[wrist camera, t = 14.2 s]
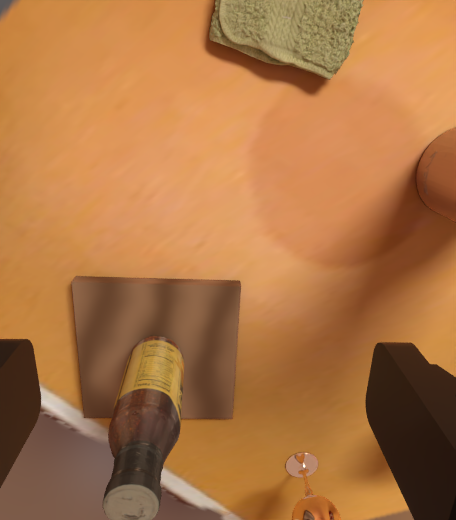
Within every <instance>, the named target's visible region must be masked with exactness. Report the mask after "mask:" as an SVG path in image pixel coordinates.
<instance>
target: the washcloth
mask: <svg viewBox="0 0 456 520" xmlns="http://www.w3.org/2000/svg"><path fill="white" fill-rule="evenodd" d="M362 2H363V0H216V1H215V12H214V13H213V16H212V21H211V27H210V31H209V32H210V33H209V38H210V41H214V42H217V43H220V44H223V45H225V46H228V47H231V48H234V49H236V50H238V51H240V52H243V53H244V54H247V55H249V56H251V57H254V58H256V59H258V60H261V61H264V62H266V63H271V64H275V65H291V66H294V67H297V68H300V69H303V70H306V71H308V72H312V73H314V74H317V75H319V76H322V77H324V78H326V79H329V80H330V79H331V78H332V76H333V74H336V73H337V71H338V69H339V68H340V66H341V65H342V64H343V62H344V60H345V59H346V58H347V57H348V56H349V50H350V48H351V45H352V43H353V42H354V41H353V34H354V31H355V28H356V26H357V24H358V17H359V14H360V11H361V8H362V6H363V4H362Z"/></svg>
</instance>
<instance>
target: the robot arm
mask: <svg viewBox="0 0 456 520" xmlns="http://www.w3.org/2000/svg"><path fill="white" fill-rule="evenodd" d="M416 183H417V190H418V192H419V195H420V197H421V199H422V200H423V202H424V203H425V204H426V205H427V206H428V207H429V208H430V209H432V210H433V211H435V212H437V213H439V214H441V215H443V216H445V217H447V218H449V219H450V220H452V221H454V222H456V128H453V129H450V130H448V131H446V132H445V133H443V134H442V135H440V136H439V137H437V138H436V139H435V140H434V141H433V142H432V143H431V144H430V145H429V147H428V148H427V149H426V150H425V152H424V154H423V156H422V158H421V160H420V162H419V165H418V169H417V175H416ZM40 407H41V392H40V386H39V380H38V374H37V368H36V362H35V355H34V349H33V346H32V343H31V342H30V340H28V339H0V488H1V486H2V484H3V482H4V480H5V479H6V477H7V475H8V473H9V471H10V469H11V468H12V466H13V464H14V462H15V460H16V458H17V457H18V455H19V453H20V451H21V449H22V448H23V445H24V444H25V442H26V440H27V439H28V437H29V435H30V433H31V431H32V430H33V428H34V426H35V424H36V422H37V419H38V416H39V413H40ZM366 413H367V418H368V421H369V424H370V426H371V429H372V431H373V433H374V435H375V437H376V439H377V441H378V444H379V446H380V448H381V450H382V452H383V454H384V456H385V458H386V461H387V463H388V465H389V467H390V469H391V471H392V473H393V475H394V478H395V480H396V482H397V484H398V486H399V488H400V490H401V493H402V495H403V497H404V499H405V501H406V503H407V505H408V507H409V510H410V512H411V514H412V516H413V518H414V520H456V377H454V376H453V375H451V374H450V373H448V372H447V371H445V370H444V369H442V368H441V367H439V366H438V365H436V364H429V363H428V361H427V360H426V359H425V358H424V356H423V355H422V354H421V353H420V351H419V350H418V349H417V348H416V346H415V345H414V344H412V343H377V345H376V346H375V349H374V352H373V358H372V364H371V370H370V376H369V381H368V387H367V393H366Z"/></svg>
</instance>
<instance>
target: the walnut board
mask: <svg viewBox="0 0 456 520" xmlns="http://www.w3.org/2000/svg"><path fill="white" fill-rule="evenodd" d="M72 292H73V303H74V314H75V324H76V335H77V346H78V357H79V367H80V378H81V389H82V400H83V410H84V418H112V413H113V409H114V406H115V402H116V399H117V396H118V392H119V389H120V385H121V382H122V378H123V375H124V371H125V368H126V365H127V362H128V359H129V356H130V354H131V352H132V350H133V348H134V347H135V345H137V344H138V343H139V342H140V341H142V340H143V339H145V338H147V337H149V336H160V337H165V338H168V339H170V340H172V341H173V342H175V343H176V345H177V346H178V347H179V348H180V350H181V353H182V355H183V360H184V378H183V394H182V408H181V419H232V417H233V402H234V386H235V371H236V355H237V340H238V324H239V309H240V293H241V284H240V281H229V280H193V279H156V278H120V277H83V276H76V277H75V278H74V279H73V281H72Z"/></svg>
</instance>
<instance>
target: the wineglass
mask: <svg viewBox="0 0 456 520" xmlns="http://www.w3.org/2000/svg"><path fill="white" fill-rule="evenodd" d="M317 468H318V460H317V458H316V457H315V456H314V455H313V454H311V453H307V452H300V453H296V454H294V455H292V456H291V457H290V458H289V459H288V460H287V462H286V470H287V472H288V473H289V474H290V475H292V476H294V477H303V478H304V482H305V496H306V497H304V498H302V499H301V500H300V501H299V502H298V503H297V504H296V505H295V507H294V510H293V512H292V520H341V517H340V515H339V512H338V510H337V508H336V507H335V505H334V504H333V503H332V502H331V501H330V500H329V499H327V498H325V497H323V496H319V495H313V491H312V489H311V488H310V486H309V484H308V480H307V476H309V475H311V474H313V473H314V472H315V471H316V470H317Z"/></svg>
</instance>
